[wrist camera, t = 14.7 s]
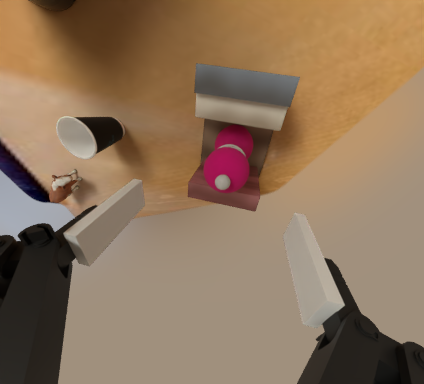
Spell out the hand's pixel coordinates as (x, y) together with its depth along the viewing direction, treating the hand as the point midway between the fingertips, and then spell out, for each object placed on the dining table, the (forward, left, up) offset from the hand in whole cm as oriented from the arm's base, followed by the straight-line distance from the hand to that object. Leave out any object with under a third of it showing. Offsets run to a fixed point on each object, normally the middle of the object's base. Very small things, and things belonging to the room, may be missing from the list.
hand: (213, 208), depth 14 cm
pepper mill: (0, 0, -25) cm, 25 cm away
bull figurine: (+21, -46, -26) cm, 57 cm away
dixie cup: (+3, -29, -26) cm, 39 cm away
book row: (-1, 0, -26) cm, 26 cm away
